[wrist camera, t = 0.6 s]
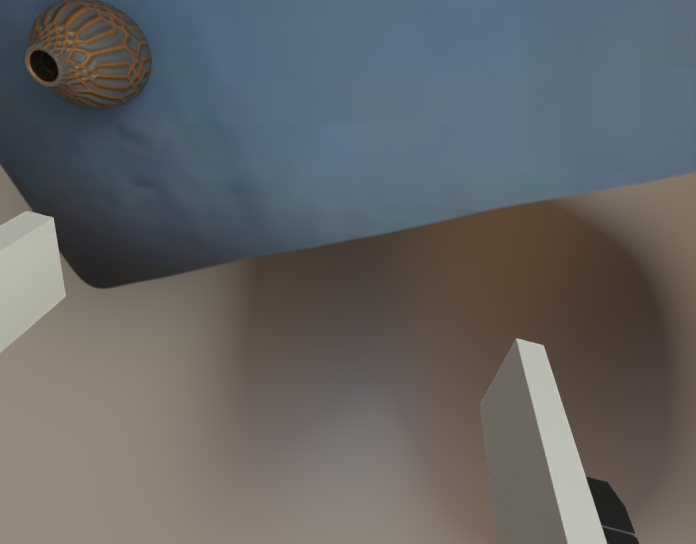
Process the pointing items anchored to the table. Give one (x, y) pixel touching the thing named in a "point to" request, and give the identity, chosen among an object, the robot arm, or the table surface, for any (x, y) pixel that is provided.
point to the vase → (88, 54)
